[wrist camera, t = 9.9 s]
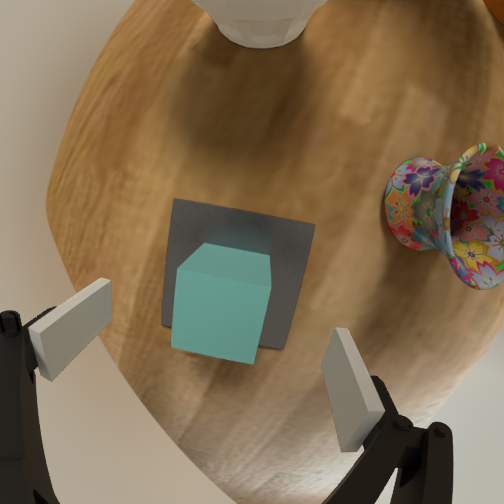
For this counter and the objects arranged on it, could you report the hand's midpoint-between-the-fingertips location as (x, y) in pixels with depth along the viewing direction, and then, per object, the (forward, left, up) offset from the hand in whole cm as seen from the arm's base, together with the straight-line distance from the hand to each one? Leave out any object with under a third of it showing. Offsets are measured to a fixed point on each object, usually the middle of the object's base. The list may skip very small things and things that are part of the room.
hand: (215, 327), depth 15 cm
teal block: (0, 0, -9) cm, 9 cm away
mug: (-10, +17, -10) cm, 22 cm away
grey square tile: (0, 0, -10) cm, 10 cm away
